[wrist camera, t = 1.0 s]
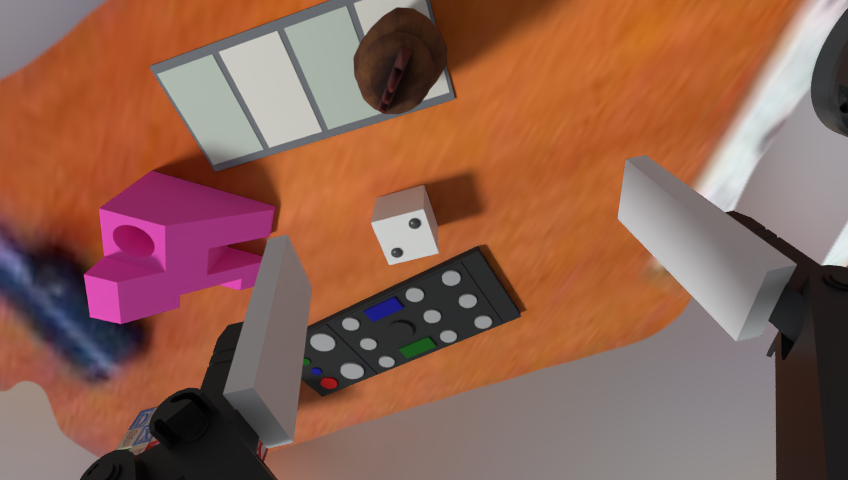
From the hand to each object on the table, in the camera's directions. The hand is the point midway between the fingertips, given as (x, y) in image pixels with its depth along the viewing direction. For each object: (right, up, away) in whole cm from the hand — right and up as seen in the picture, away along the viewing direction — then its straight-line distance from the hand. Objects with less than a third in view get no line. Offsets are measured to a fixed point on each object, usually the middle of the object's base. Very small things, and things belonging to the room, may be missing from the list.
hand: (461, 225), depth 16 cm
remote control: (-6, -11, +36) cm, 38 cm away
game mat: (-12, +13, +19) cm, 26 cm away
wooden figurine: (-3, +15, +18) cm, 23 cm away
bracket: (-24, +1, +28) cm, 37 cm away
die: (-3, +2, +26) cm, 26 cm away
